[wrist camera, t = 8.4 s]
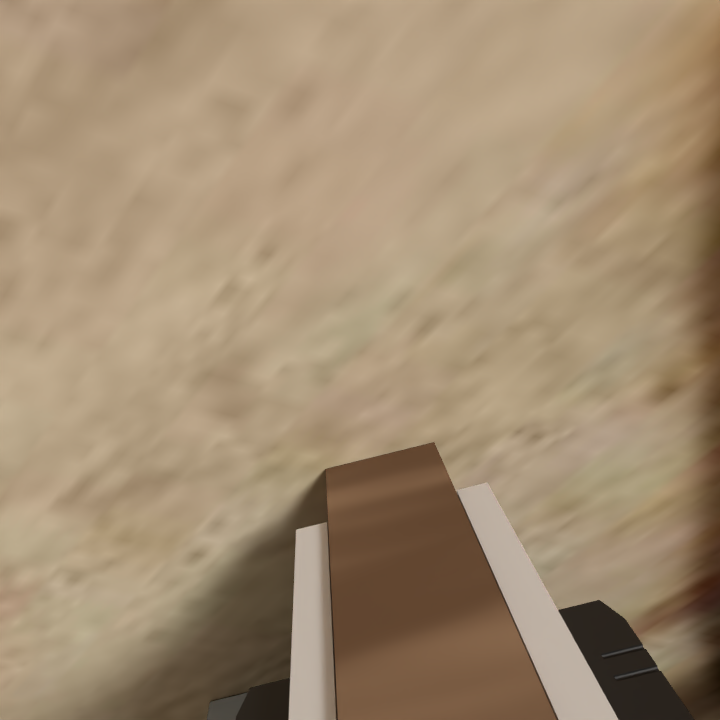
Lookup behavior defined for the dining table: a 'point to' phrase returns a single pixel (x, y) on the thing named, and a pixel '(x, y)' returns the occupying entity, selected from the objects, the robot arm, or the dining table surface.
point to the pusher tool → (418, 601)
